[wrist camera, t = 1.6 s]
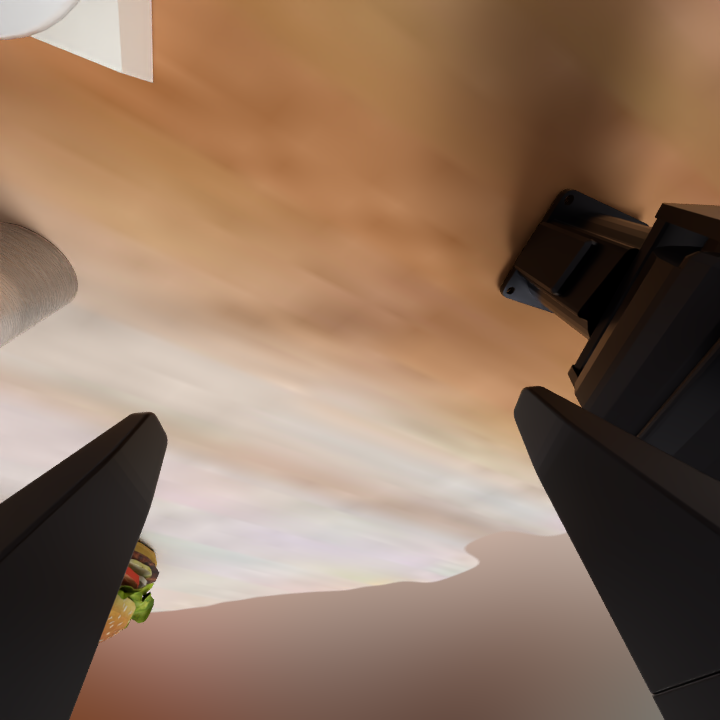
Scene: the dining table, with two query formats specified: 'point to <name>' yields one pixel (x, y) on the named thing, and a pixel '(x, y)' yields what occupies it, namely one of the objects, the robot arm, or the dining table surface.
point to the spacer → (30, 280)
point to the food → (133, 592)
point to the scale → (87, 30)
